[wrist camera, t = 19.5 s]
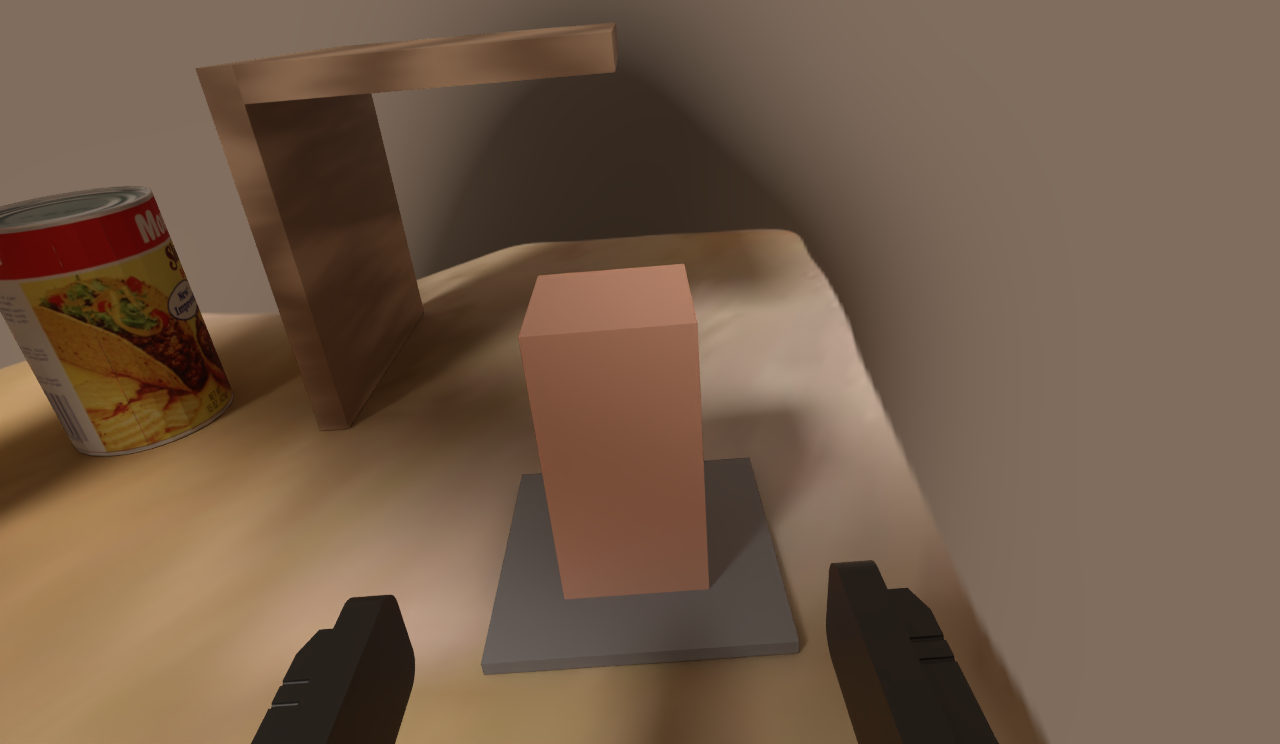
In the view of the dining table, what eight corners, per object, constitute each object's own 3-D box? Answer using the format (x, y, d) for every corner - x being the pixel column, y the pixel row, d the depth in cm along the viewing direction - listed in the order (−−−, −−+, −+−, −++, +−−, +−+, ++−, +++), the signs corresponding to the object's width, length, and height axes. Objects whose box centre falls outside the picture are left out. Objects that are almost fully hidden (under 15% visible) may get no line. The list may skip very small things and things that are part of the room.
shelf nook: (320, 430, 37) (195, 68, 29) (403, 314, 50) (335, 47, 42) (644, 405, 36) (611, 31, 28) (639, 295, 50) (616, 22, 42)
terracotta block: (564, 599, 24) (518, 337, 20) (573, 507, 29) (538, 275, 24) (709, 589, 24) (697, 322, 19) (696, 498, 29) (684, 263, 24)
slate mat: (484, 674, 22) (481, 663, 22) (524, 483, 31) (522, 474, 31) (799, 652, 22) (799, 641, 22) (749, 466, 31) (749, 457, 31)
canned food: (262, 397, 41) (183, 189, 35) (120, 471, 35) (-2, 236, 29) (186, 373, 44) (103, 183, 39) (45, 437, 38) (-76, 222, 33)
